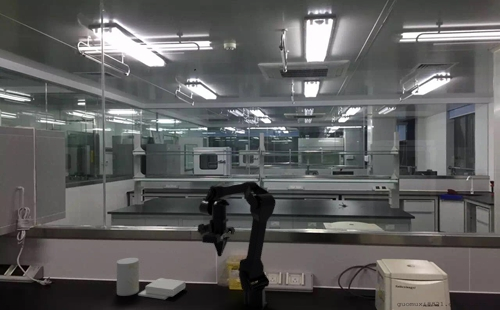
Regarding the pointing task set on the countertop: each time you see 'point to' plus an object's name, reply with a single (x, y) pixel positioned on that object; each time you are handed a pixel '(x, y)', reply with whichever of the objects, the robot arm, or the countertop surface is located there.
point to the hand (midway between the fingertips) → (219, 256)
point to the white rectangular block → (165, 287)
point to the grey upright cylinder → (127, 276)
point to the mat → (152, 295)
